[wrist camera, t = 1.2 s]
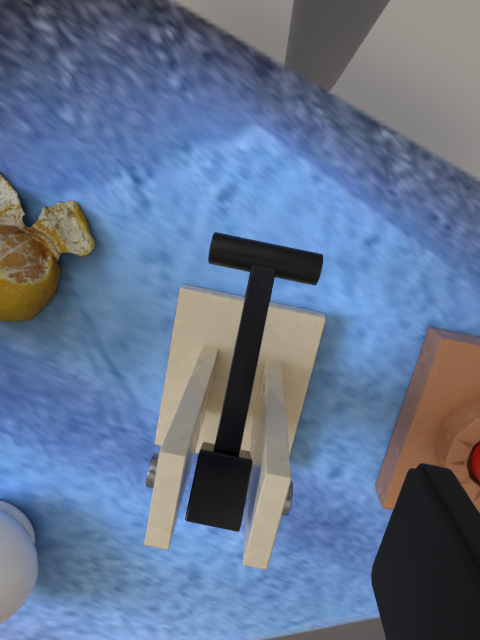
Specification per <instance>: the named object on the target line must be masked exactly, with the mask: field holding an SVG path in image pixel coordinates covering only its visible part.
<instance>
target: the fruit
mask: <svg viewBox="0 0 480 640" xmlns="http://www.w3.org/2000/svg"><path fill="white" fill-rule="evenodd" d="M17 194H18V193H17V192H16V191H15V190H14V189H13V188H12V187H11V185H10V184H9V182H8V181H6V180H5V179H4V178H3V177H2V175H1V174H0V321H5V322H13V321H16V322H18V321H28V320H31V319H33V318H34V317H35V316H36V315H37V314H38V313H39V312H41V311H42V309H43V307H45V306H46V305H48V303H49V302H50V300H51V299H52V298H53V296H54V294H55V293H56V292H57V290H56V288H57V283H58V280H59V278H60V275H61V273H62V272H61V268H60V267H59V266H58V264H57V262H58V260H59V258H60V255H61V253H65V252H69V253H74V254H77V255H78V256H81V257H85V256H87V255H89V254H90V253H91V252H92V251H93V249H94V246H95V243H94V238H93V237H92V236H91V234H90V230H89V227H88V220H87V218H86V216H85V215H84V214H83V212H82V211H81V208H80V206H79V205H77V202H74V201H68V202H60V201H59V202H58V203H57V204H56V205H54V206H53V207H46V206H45V207H43V208H42V212H41V214H40V216H39V218H38V221H37V222H36V223H35V224H33V225H32V226H31V227H26V226H25V225H24V223H23V221H22V217H23V215H25V214H24V212H23V210H22V208H21V204H20V200H19V199H18V197H17Z"/></svg>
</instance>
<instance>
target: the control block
mask: <svg viewBox="0 0 480 640" xmlns="http://www.w3.org/2000/svg"><path fill="white" fill-rule="evenodd" d="M479 443H480V337H476V336H472V335H467V334H462V333H457V332H452V331H447V330H442V329H438V328H433V327H429V328H428V331H427V334H426V337H425V340H424V343H423V346H422V349H421V352H420V355H419V358H418V361H417V364H416V367H415V369H414V372H413V375H412V378H411V381H410V384H409V387H408V390H407V393H406V396H405V399H404V402H403V405H402V408H401V411H400V414H399V417H398V419H397V422H396V425H395V428H394V431H393V434H392V437H391V440H390V443H389V446H388V449H387V452H386V455H385V458H384V461H383V464H382V467H381V469H380V472H379V475H378V478H377V481H376V484H375V488H376V491H377V494H378V497H379V499H380V502H381V505H382V507H383V508H387V509H391V510H393V509H394V507H395V504H396V501H397V498H398V496H399V493H400V490H401V488H402V485H403V482H404V480H405V477H406V474H407V472H408V470H409V469H410V468H415V469H416V467H417V466H418V465H419V464H421V463H425V464H430V465H435V466H440V467H445V468H448V469H451V470H452V472H453V473H454V474H455V476H456V477H457V479H458V481H459V482H460V484H461V485H462V487H463V488H464V490H465V491H466V493H467V494H468V496H469V498H470V499H471V501H472V502H473V504H474V505H475V507H476V508H477V510H478V511H479V513H480V481H479V480H478V479H477V477H476V476H475V475H474V473H473V471H472V468H471V456H472V453H473V451H474V449H475V447H476V446H477V445H478V444H479Z"/></svg>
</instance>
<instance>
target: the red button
mask: <svg viewBox="0 0 480 640" xmlns="http://www.w3.org/2000/svg"><path fill="white" fill-rule="evenodd" d="M471 468H472V471H473V473H474V475H475V476H476V477H477V479H478V480H479V481H480V443H479V444H478V445H477V446H476V447H475V449H474V451H473V453H472V456H471Z"/></svg>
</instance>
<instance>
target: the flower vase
mask: <svg viewBox="0 0 480 640" xmlns="http://www.w3.org/2000/svg"><path fill="white" fill-rule="evenodd" d="M34 544H35V532H34V529H33V526H32V524H31V522H30V520H29V519H28V518H27V517H26V515H25V514H24V513H23V512H22V511H20V510H19V509H18V508H17V507H15V506H13V505H11V504H9V503H7V502H4V501H1V500H0V625H1V624H3V623H4V622H6V621H7V620H8V619H9V618H10V617H12V616H13V615H14V614H15V613H16V612H18V611H19V610H20V609H21V608H22V606H23V605H24V604H25V603H26V601H27V600H28V598H29V596H30V595H31V593H32V592H33V590H34V588H35V585H36V580H37V575H38V559H37V551H36V548H35V545H34Z"/></svg>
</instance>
